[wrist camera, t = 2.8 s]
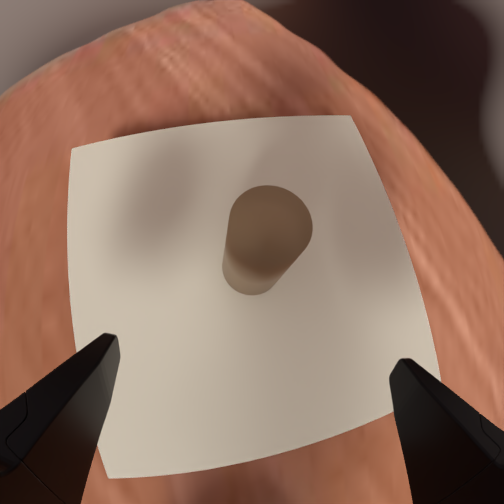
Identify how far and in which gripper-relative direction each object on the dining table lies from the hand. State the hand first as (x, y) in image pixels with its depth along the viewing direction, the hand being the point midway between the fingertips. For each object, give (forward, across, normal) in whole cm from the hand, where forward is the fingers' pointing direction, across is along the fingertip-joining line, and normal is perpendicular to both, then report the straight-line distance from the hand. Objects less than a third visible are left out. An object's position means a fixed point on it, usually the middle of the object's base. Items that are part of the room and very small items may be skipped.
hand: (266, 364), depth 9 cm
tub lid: (+10, 0, +3) cm, 11 cm away
